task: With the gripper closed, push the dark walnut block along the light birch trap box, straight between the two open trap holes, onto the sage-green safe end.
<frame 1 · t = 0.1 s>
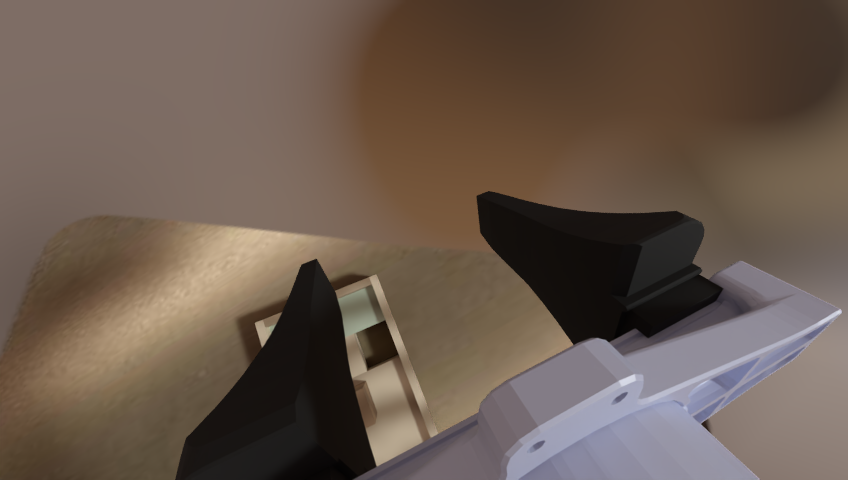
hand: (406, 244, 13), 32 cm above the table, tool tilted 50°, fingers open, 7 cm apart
trap box: (353, 383, 40), on the table
walnut block: (356, 403, 38), point 2 cm above the table, touching trap box
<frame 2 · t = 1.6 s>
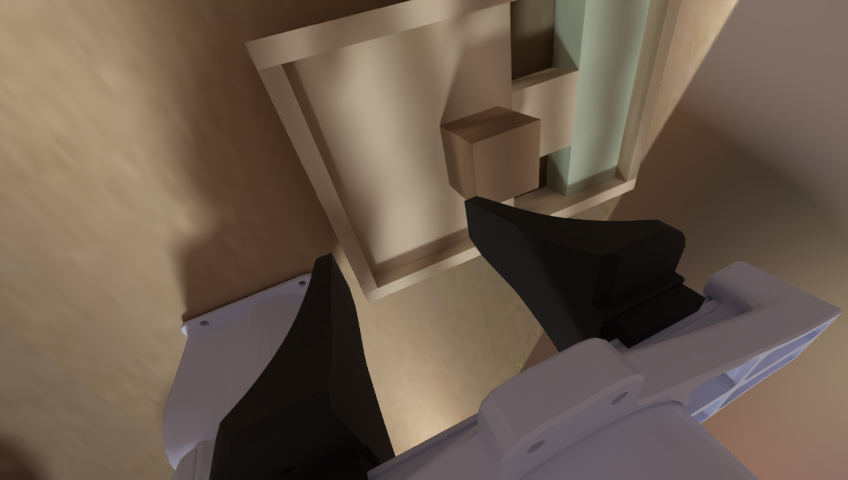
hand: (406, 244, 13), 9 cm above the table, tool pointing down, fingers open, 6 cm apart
trap box: (480, 128, 22), on the table
walnut block: (472, 147, 19), point 2 cm above the table, touching trap box
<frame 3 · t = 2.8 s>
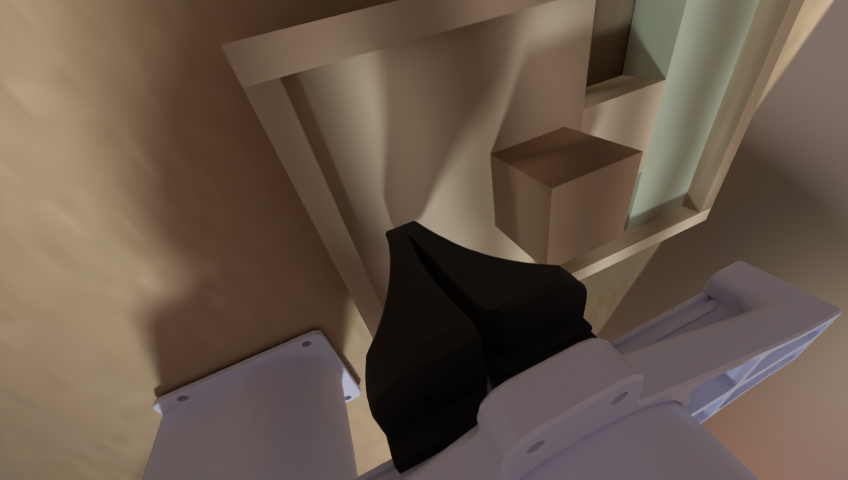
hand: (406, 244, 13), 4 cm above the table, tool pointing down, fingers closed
trap box: (530, 151, 17), on the table
walnut block: (527, 179, 15), point 2 cm above the table, touching trap box
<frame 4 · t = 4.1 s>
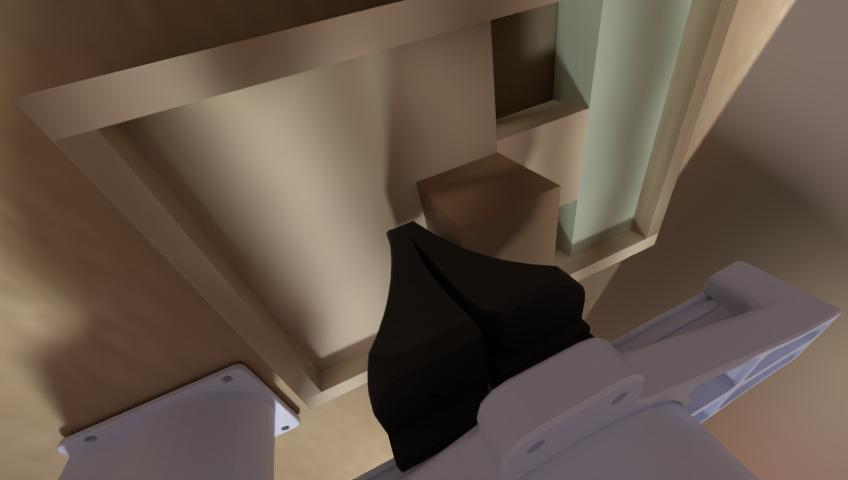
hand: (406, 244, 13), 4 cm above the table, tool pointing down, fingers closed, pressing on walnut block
trap box: (458, 179, 17), on the table
walnut block: (463, 205, 14), point 3 cm above the table, touching gripper
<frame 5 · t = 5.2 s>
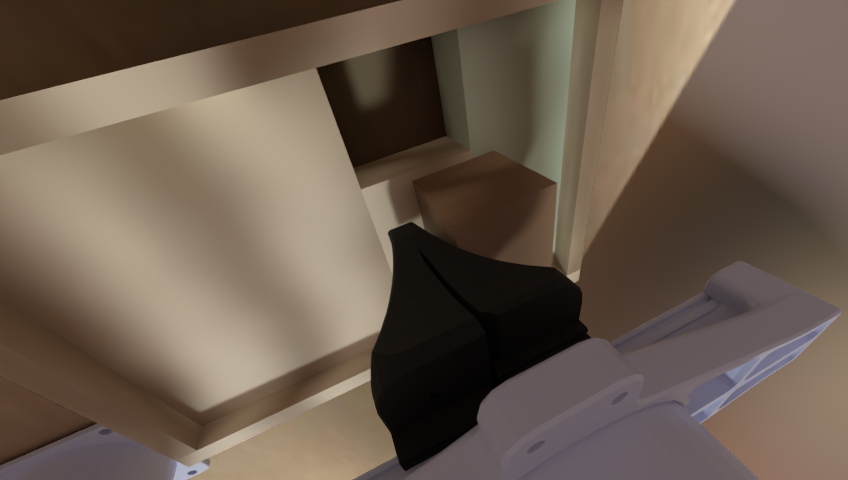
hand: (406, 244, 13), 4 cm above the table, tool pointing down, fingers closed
trap box: (348, 220, 15), on the table
walnut block: (460, 204, 14), point 3 cm above the table, touching gripper
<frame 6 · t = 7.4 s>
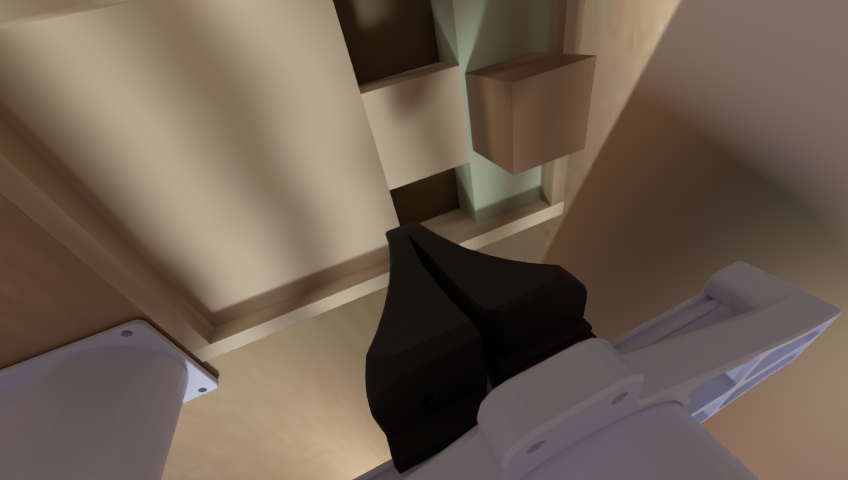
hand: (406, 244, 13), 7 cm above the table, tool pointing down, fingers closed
trap box: (349, 139, 17), on the table
walnut block: (502, 103, 16), point 2 cm above the table, touching trap box
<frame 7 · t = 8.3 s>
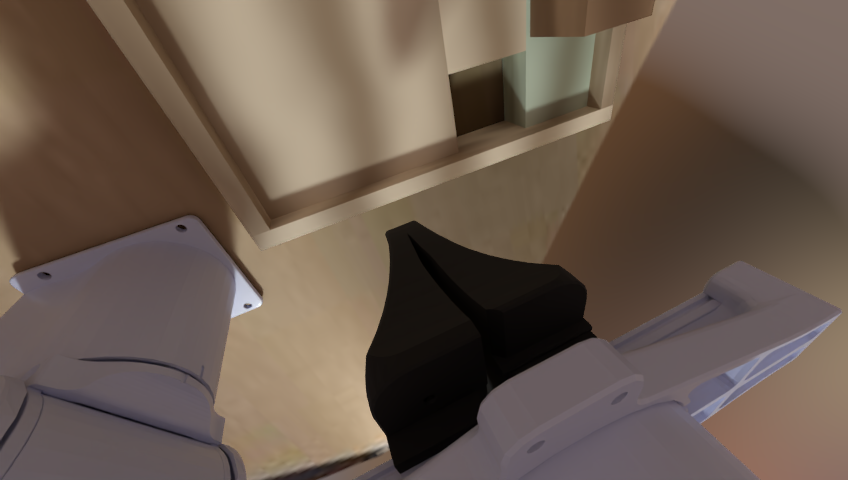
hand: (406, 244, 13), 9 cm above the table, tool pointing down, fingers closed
trap box: (406, 25, 17), on the table
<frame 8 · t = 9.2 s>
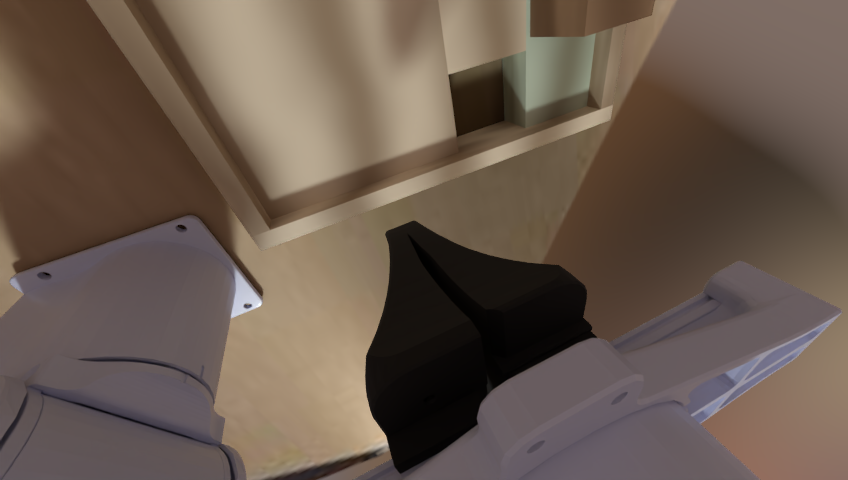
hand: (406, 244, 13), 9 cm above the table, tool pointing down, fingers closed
trap box: (406, 25, 17), on the table
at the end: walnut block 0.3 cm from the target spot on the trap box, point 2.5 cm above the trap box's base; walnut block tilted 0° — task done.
